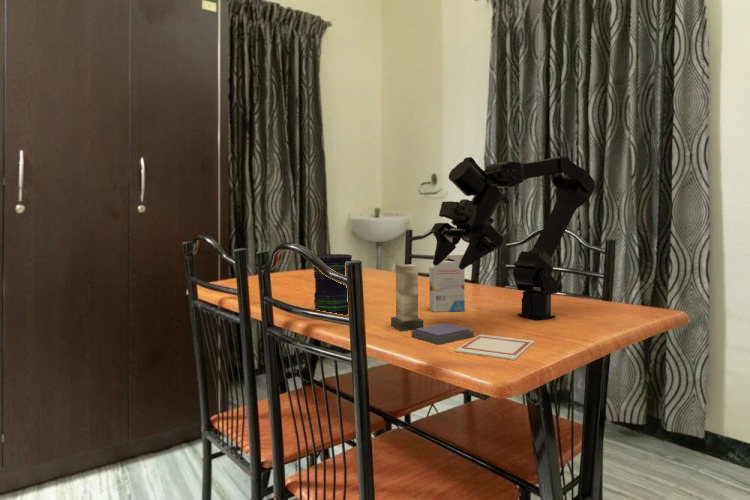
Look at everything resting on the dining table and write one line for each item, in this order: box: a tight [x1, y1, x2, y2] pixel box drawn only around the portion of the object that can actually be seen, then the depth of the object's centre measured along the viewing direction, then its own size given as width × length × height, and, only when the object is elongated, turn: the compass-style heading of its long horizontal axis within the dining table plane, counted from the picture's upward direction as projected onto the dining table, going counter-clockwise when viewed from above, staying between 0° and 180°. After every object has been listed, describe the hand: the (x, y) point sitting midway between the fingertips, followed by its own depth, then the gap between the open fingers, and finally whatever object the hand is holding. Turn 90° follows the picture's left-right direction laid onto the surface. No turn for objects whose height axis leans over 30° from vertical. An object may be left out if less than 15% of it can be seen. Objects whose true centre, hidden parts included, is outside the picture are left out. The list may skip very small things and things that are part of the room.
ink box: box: [428, 254, 466, 313], centre depth 133 cm, size 8×5×15 cm, turn 96°
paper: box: [454, 334, 535, 361], centre depth 96 cm, size 14×11×1 cm
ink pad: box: [411, 322, 475, 346], centre depth 104 cm, size 10×8×2 cm
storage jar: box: [313, 253, 353, 315], centre depth 129 cm, size 10×10×15 cm
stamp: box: [390, 263, 425, 332], centre depth 113 cm, size 6×6×14 cm
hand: (446, 266), depth 109 cm, fingers open, 9 cm apart
